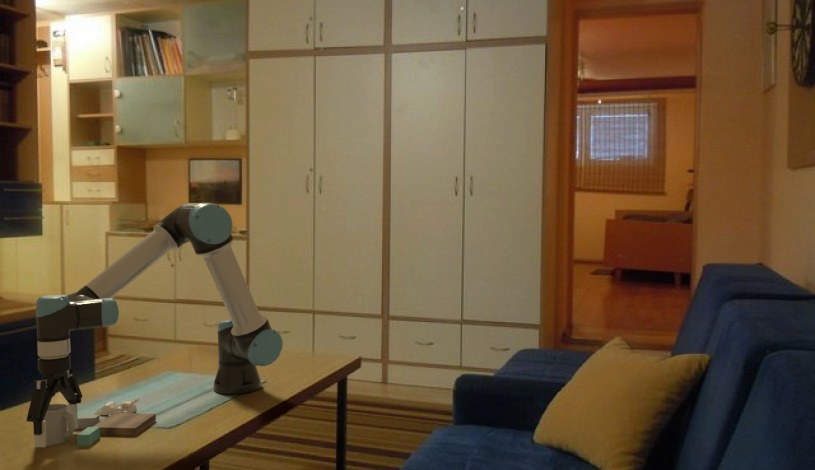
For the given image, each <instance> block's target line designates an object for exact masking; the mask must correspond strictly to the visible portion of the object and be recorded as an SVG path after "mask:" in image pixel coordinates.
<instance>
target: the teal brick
mask: <svg viewBox="0 0 815 470" xmlns="http://www.w3.org/2000/svg"><path fill="white" fill-rule="evenodd" d="M76 438H77V441H76V442H77V445H76V446H77V447H79V446H80V447H82V446H83V447H86V446H87V447H88V446H91V445H92V444H94V443H95V442H96V441H97V440H99V439H100V438H101V435H100V427H88V428H85V429H83V430H82V431H80V432H78V434H76Z"/></svg>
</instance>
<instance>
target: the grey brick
mask: <svg viewBox="0 0 815 470" xmlns="http://www.w3.org/2000/svg"><path fill="white" fill-rule="evenodd" d="M100 419H101V418H100V416H99V415H94V414H77V422H78V428H77V429H80V430H81V429H83V430H85V429H86V428H88V427H93V426H94V425H96V424H98V423H99V422H101V420H100Z"/></svg>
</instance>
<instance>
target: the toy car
mask: <svg viewBox="0 0 815 470" xmlns="http://www.w3.org/2000/svg"><path fill="white" fill-rule="evenodd" d="M139 401H140V398H135V399H134V400H132V401H128V400H124V401H123V402H121V403H117V402H116V401H109V402H107V403H106V404H104V405H103V406H102V407H100V408H99V409H97V410H96V411H95V412H94V414H93V415H112V414H114V413H133V412H135V411H136V412H137V405H136V403H137V402H139ZM100 411H101V412H100ZM136 412H135V413H136Z"/></svg>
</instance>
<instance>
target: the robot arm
mask: <svg viewBox="0 0 815 470" xmlns="http://www.w3.org/2000/svg"><path fill="white" fill-rule="evenodd" d="M232 229H233V220H232V216H231V214H230V213H229V211H228V210H227V209H225V208H224V207H223V206H221V205H219V204H217V203H214V202H188V203H184V204H181V205H179V206H178V207H176V208H175V209H174V210H172V211H171V212H169V213H168V214H167V215H165V217H163V218H162V219H161V220H160V221H158V222H157V223H156V224H155V225H153V230H152V231H151V232H150V233H149V234H147V235H146V236H145V237H144V238H143V239H141V240H140V241H139V242H138V243H136V244H135V245H134V246H132V248H130V249H129V250H128V251H126V252H125V253H124V254H123V255H121V256H120V257H119V258H118V259H117V260H115V261H114V262H112V263H111V264H110V265H108V267H106V268H105V269H104V270H102V271H101V272H100V273H99V274H98V275H96V276H95V277H94V278H93V279H91V280H90V281H89V282H88V283H86V284H85V285H84V286H82V287H81V288H80V289H79V290H78V291H76V292H72V293H68V294H67V295H66V294H48V295H42V296H40V297H38V298H37V300H36V306H35V320H36V321H35V322H36V338H37V339H36V342H37V345H36V346H37V356H38V359H37V371H38V373H40V374H41V375H42V380H34V381H33V392H32V396H31V399H30V403H29V408H28V412H27V415H26V422H31V423H32V424H33V425H32V426H33V427H32V428H33V436H34V437H33V440H34V442H33V443H34V448H47V447H48V446H47V438H46V420H44V417H45V415H46V412H47V409H48V407H49V404H51V401H52V399H53V397H55V396H56V394H57V393H59V392H60V394H61V395H62V396H63V398H64V399H65V400H66V402H67V403H66V404H65V405H66V406H67V412H68V413H70V414H71V415H72V416H73V418H74V420H75V430H76V429H77V428H78V422H77V415H78V404H82V398H83V394H82V391H81V389H80V385H79V382H78V380H77V378H76V377H77V376H76V373H75V368H74V367H72V365H71V363H72V362H71V361H72V360H71V359H72V357H71V355H70V354H71V350H72V349H71V331H77V330H86V329H87V330H88V329H94V328H95V329H96V328H105V327H109V326H115V325H116V324H117V323H118V321H119V316H120V309H119V305H118V303H117V301H116V299H115V298H114V297H115V296H117V295H118V294H119V293H120V292H122V291H123V290H124V289H126V287H127V286H129V285H130V284H131V283H132V282H134V281H135V280H137V278H139V276H141V275H142V274H143V273H144V272H146V271H147V270H148V269H149V268H151V267H152V266H153V265H154V264H155V263H157V262H158V261H159V260H160V259H162V258H163V257H164V256H165V255H167V254H168V253H169V252H170V251H176V250H178V249H179V248H180V247H182V246H184V245H185V244H188V243H189V242H190V244H191V246H192V248H193V251H194V253H195V254H196V255H197V256H200V257H201V258H203V260H204V262H205V264H206V267H207V269H208V270H209V274H210V276H211V278H212V280H213V282H214V284H215V287H216V289H217V291H218V293H219V296H220V297H221V300H222V303H223V305H224V306H225V309H226V311H227V313H228V315H229V318H230V319H225V320H221V321H220V322H219V323H218V324H217V345H218V347H217V349H218V353H217V354H218V368H217V371H216V375H215V378H214V380H213V391H214V392H216V393H218V394H222V395H242V394H248V393H252V392H256V391H257V390H259V389H261V387H262V381H261V377H260V375H259V372H258V368H257V366H258V367H267V366H270V365H272V364H274V362H276V361H277V359H278V358H279V357H280V355H281V353H282V350H283V346H284V344H283V338H282V335H281V334H280V333H279V332H278V331H277V330H276V329H273V328H272V327H271V324H270V322H269V319H268V317H267V316H266V315H264V314H261V313H260V311H259V308H258V307H257V305H256V302H255V300H254V296H253V295H252V293H251V291H250V288H249V286H248V283H247V281H246V279H245V276H244V274H243V272H242V269H241V267H240V264H239V262H238V260H237V257H236V255H235V253H234V250H233V248H232V244H233V241H234V237H233V235H232ZM67 430H68V422H67Z"/></svg>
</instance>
